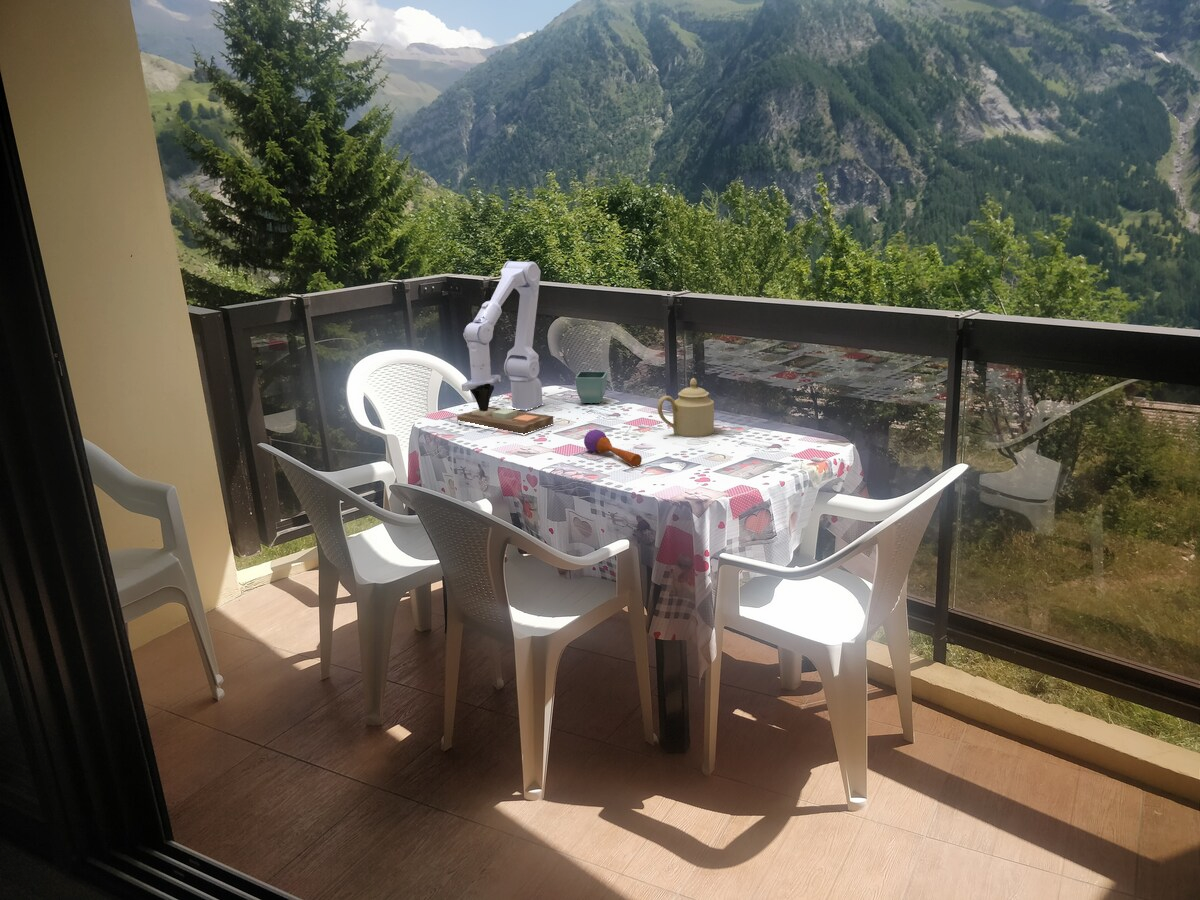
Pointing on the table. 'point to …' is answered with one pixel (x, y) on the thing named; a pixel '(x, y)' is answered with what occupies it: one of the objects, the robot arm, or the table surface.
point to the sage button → (504, 413)
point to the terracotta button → (526, 418)
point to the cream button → (483, 412)
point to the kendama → (608, 447)
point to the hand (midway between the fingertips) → (483, 410)
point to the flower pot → (591, 386)
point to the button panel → (508, 421)
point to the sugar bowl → (690, 412)
